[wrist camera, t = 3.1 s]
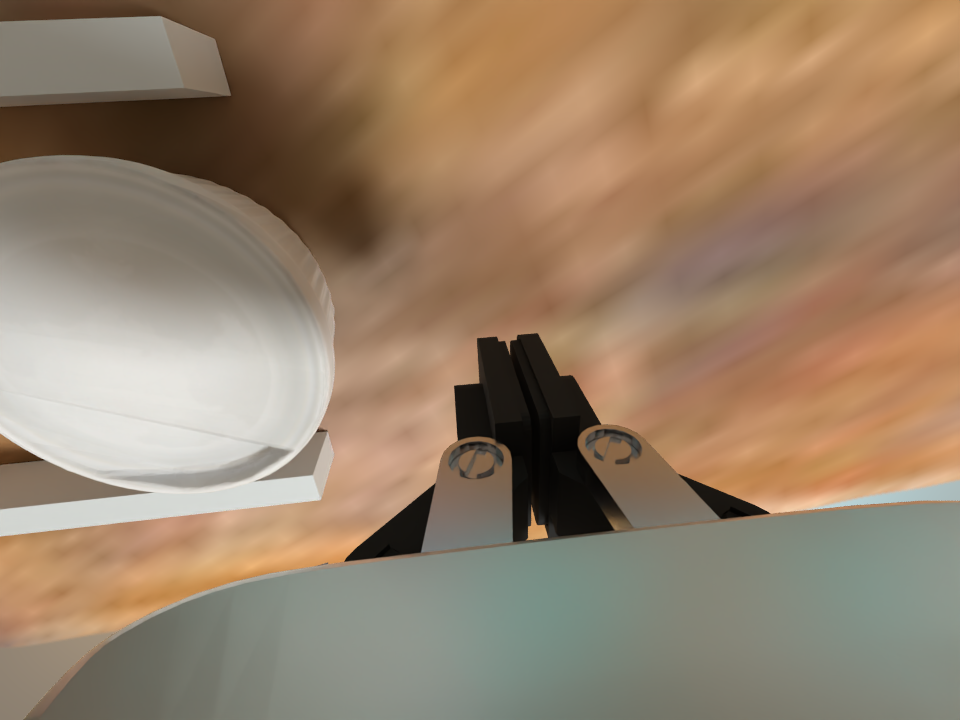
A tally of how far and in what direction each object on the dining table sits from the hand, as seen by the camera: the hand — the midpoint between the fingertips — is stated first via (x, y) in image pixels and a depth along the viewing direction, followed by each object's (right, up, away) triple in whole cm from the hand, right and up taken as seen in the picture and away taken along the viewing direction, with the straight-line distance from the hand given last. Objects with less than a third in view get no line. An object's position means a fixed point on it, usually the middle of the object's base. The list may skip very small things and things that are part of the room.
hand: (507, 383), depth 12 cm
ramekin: (-12, +3, +5) cm, 13 cm away
